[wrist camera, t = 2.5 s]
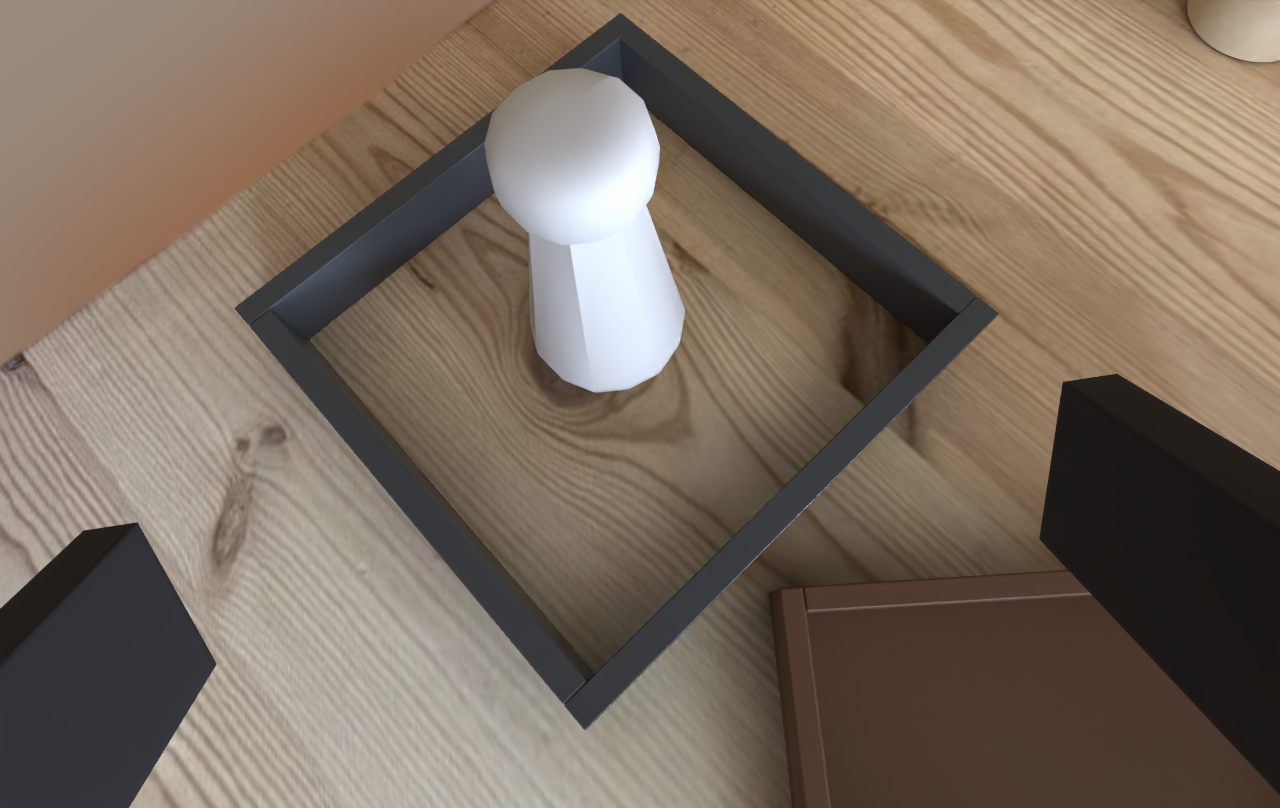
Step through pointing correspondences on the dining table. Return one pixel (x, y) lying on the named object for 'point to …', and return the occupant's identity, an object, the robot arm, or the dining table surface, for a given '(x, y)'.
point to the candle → (1239, 27)
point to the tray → (988, 702)
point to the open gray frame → (464, 181)
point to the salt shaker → (587, 226)
